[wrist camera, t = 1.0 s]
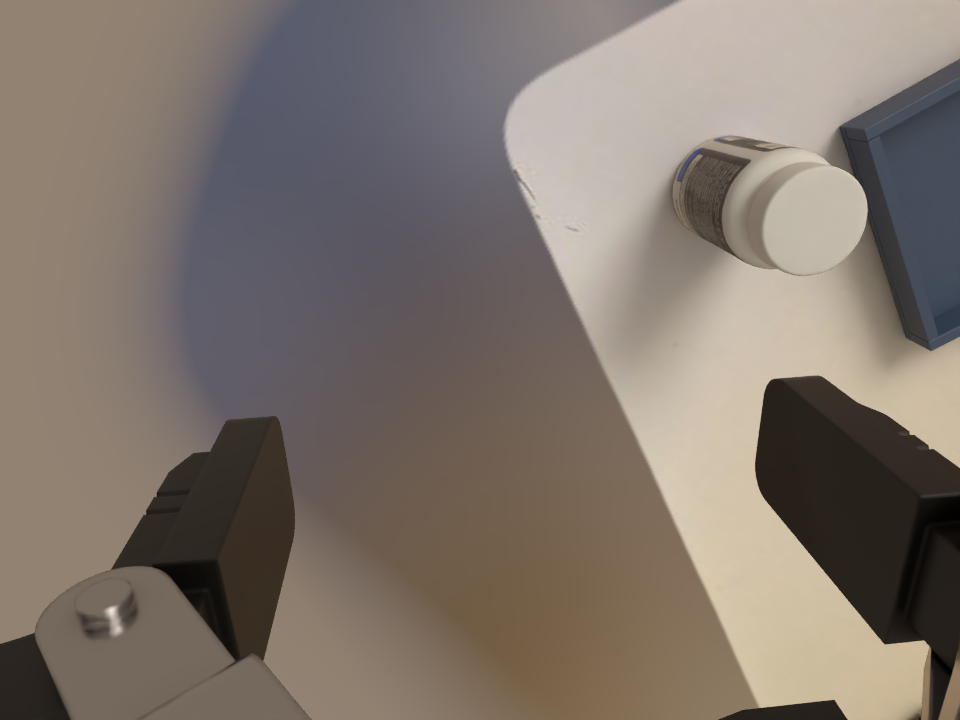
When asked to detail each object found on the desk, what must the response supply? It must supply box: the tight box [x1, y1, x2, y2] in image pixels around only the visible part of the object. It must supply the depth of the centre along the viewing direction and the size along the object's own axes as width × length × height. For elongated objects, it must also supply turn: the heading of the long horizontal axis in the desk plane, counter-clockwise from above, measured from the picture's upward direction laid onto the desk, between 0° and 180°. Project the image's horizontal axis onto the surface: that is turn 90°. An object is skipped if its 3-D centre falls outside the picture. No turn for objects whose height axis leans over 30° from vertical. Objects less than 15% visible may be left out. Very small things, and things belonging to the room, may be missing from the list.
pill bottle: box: [672, 136, 868, 276], centre depth 29 cm, size 5×5×8 cm
